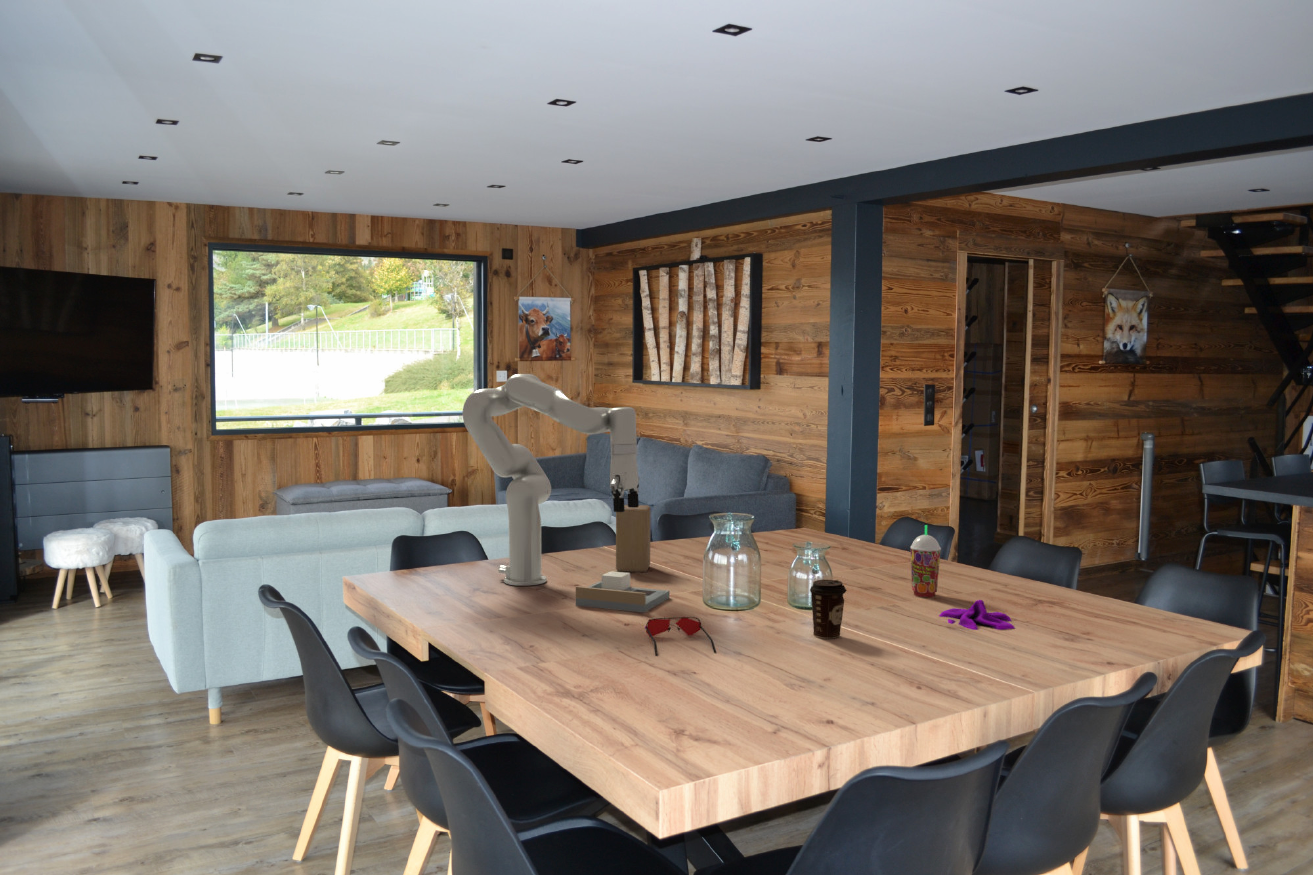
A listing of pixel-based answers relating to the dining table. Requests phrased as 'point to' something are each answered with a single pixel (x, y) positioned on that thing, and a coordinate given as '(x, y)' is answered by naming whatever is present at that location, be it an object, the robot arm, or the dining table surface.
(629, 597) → the board
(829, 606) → the coffee cup
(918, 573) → the smoothie
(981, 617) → the cloth
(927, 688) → the dining table surface
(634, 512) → the block
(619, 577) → the cream block
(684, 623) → the glasses
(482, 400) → the robot arm
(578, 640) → the dining table surface
